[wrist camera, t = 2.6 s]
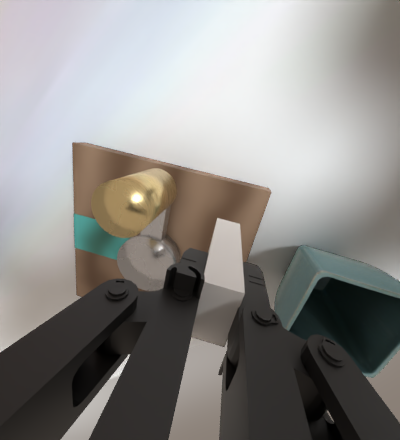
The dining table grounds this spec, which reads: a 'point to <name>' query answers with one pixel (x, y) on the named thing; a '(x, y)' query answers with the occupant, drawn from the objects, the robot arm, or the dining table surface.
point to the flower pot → (342, 306)
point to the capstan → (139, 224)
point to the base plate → (178, 217)
